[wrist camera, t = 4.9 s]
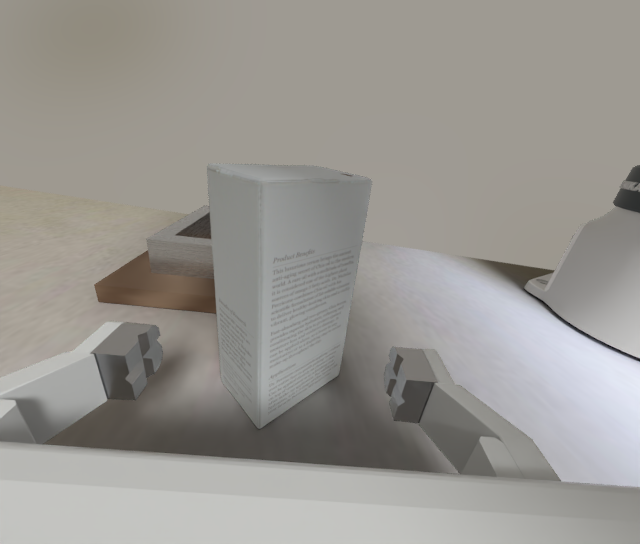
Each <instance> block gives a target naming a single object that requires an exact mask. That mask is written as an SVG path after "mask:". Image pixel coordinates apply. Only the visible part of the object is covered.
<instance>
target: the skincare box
mask: <svg viewBox="0 0 640 544" xmlns="http://www.w3.org/2000/svg"><path fill="white" fill-rule="evenodd" d="M207 176H208V194H209V208H210V223H211V239H212V253H213V266H214V282H215V298H216V313H217V327H218V343H219V357H220V373H221V380H222V382H223V384H224V385H225V386H226V388H227V389H228V390H229V391H230V393H231V394H232V395H233V397H234V398H235V399H236V400H237V402H238V403H239V404H240V405H241V407H242V408H243V410H244V411H245V412H246V414H247V415H248V416H249V418H250V419H251V420H252V422H253V423H254V424H255V426H256V427H257V428H258V429H261V428H262V427H264V426H265V425H266V424H268V423H269V422H271V421H272V420H274V419H275V418H277V417H278V416H279V415H281V414H282V413H284V412H285V411H287V410H288V409H290V408H291V407H293V406H294V405H295V404H297V403H298V402H300V401H301V400H303V399H304V398H306V397H307V396H309V395H310V394H312V393H313V392H315V391H316V390H317V389H319V388H320V387H322V386H323V385H325V384H326V383H328V382H329V381H331V380H332V379H334V378H335V377H337V376H338V375H339V372H340V366H341V361H342V355H343V349H344V344H345V338H346V332H347V326H348V320H349V314H350V308H351V302H352V297H353V291H354V285H355V279H356V273H357V267H358V262H359V256H360V250H361V244H362V238H363V232H364V227H365V222H366V216H367V209H368V204H369V198H370V192H371V185H372V180H371V179H369V178H367V177H363V176H359V175H354V174H349V173H346V172H341V171H337V170H332V169H328V168H324V167H318V166H305V165H297V166H296V165H293V166H292V165H290V166H288V165H259V164H258V165H257V164H208V166H207Z"/></svg>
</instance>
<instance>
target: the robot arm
mask: <svg viewBox="0 0 640 544" xmlns="http://www.w3.org/2000/svg"><path fill="white" fill-rule="evenodd" d="M620 188H621V189H620V191H619V192H618V194H617V196H616V198H615V200H614V202H613V203H614V205H615V206H616V207H615V208H614V209H612V210H611V211H610V212H608V213H607V214H605V215H604V216H602V217H600V218H597V219H594V220H591V221H589V222H588V223H585V224H582V225H580V227H579V228H578V230H577V231H576V233H575V234H574V235H573V237H572V239H571V241H570V244H569V246H568V247H567V249H566V251H565V253H564V255H563V256H562V258H561V260H560V262H559V264H558V266H557V268H556V269H555V271H554V273H550V274H547V275H544V276H540V277H537V278H534V279H531V280H529V281H528V282H527V284H526V285H525V287H524V288H525V290H527V291H528V292H530V293H531V294H533V295H534V296H536V297H538V298H539V299H541V300H543V301H544V302H545V303H546V304H547V305H548V306H549V307H550V308H551V309H552V310H553V311H554V312H556V313H557V314H558V315H559V316H560V317H562V318H563V319H564V320H566V321H567V322H569V323H570V324H572V325H573V326H575V327H577V328H578V329H580V330H582V331H583V332H585V333H587V334H589V335H590V336H592V337H594V338H596V339H598V340H600V341H602V342H604V343H606V344H608V345H610V346H612V347H614V348H617V349H619V350H621V351H623V352H625V353H628V354H630V355H633V356H635V357H637V358H640V165H639V166H635V167H634V168H633V169H632V170H631V172H630V173H629V175H628V177H627V179H626V180H624V181H623V182H622V184H621V186H620ZM159 336H160V332H159V327H157V326H156V325H148V324H139V323H130V322H120V321H108V322H106V323H105V324H104V325H102V326H101V327H100V328H99V329H98V330H97V331H95V332H94V333H93V334H92V335H91V336H89V337H88V338H87V339H86V340H85V341H84V342H82V343H81V344H80V345H79V346H78V347H77V348H75V349H74V350H73V351H72V352H64V353H61V354H59V355H56V356H54V357H51V358H49V359H46V360H43V361H41V362H38V363H36V364H33V365H31V366H28V367H26V368H23V369H21V370H18V371H15V372H13V373H10V374H8V375H5V376H3V377H0V544H640V487H632V486H617V485H603V484H589V483H575V482H561V480H560V479H559V477H558V476H557V474H556V473H555V472H554V470H553V469H552V467H551V466H550V464H549V463H548V461H547V460H546V459H545V457H544V456H543V454H542V453H541V451H540V450H539V449H538V447H537V446H536V444H535V443H534V441H533V440H532V439H531V438H530V437H528V436H527V435H526V434H524V433H523V432H522V431H520V430H519V429H518V428H516V427H515V426H514V425H512V424H511V423H510V422H508V421H507V420H506V419H504V418H503V417H502V416H500V415H499V414H498V413H496V412H495V411H494V410H492V409H491V408H490V407H488V406H487V405H486V404H484V403H483V402H482V401H480V400H479V399H478V398H476V397H475V396H474V395H472V394H471V393H470V392H468V391H467V390H466V389H464V388H463V387H462V386H460V385H455V383H454V381H453V380H452V378H451V376H450V374H449V372H448V371H447V369H446V367H445V365H444V363H443V361H442V360H441V358H440V356H439V354H438V352H437V351H436V350H434V349H414V348H402V347H392V348H391V350H390V354H389V357H390V361H391V362H390V363H388V364H387V365H386V369H385V375H384V383H385V389H386V393H387V394H388V395H389V396H390V397H391V398H390V402H389V405H390V409H391V413H392V417H393V420H394V421H401V422H410V423H419V426H420V427H421V428H422V429H423V430H424V432H425V433H426V434H427V435H428V436H429V437H430V439H431V440H432V441H433V442H434V443H435V445H436V446H437V447H438V448H439V449H440V451H441V452H442V453H443V454H444V455H445V456H446V458H447V459H448V460H449V461H450V462H451V464H452V465H453V466H454V467H455V468H456V469H457V471H458V472H459V473H460V474H450V473H436V472H422V471H409V470H395V469H381V468H367V467H353V466H339V465H325V464H311V463H297V462H283V461H269V460H255V459H241V458H227V457H213V456H200V455H186V454H172V453H158V452H144V451H130V450H116V449H102V448H88V447H74V446H60V445H46V444H43V443H45V442H46V441H48V440H49V439H51V438H52V437H54V436H55V435H57V434H58V433H60V432H61V431H63V430H64V429H66V428H67V427H69V426H70V425H72V424H73V423H75V422H76V421H78V420H79V419H81V418H82V417H84V416H85V415H87V414H88V413H90V412H91V411H93V410H94V409H96V408H97V407H98V406H100V405H101V404H103V403H104V402H106V401H107V399H119V400H136V399H137V398H138V396H139V395H140V393H141V392H142V391H143V389H144V388H145V386H146V385H147V379H146V378H147V377H149V376H151V375H153V374H154V373H155V372H156V371H157V369H158V368H159V366H160V363H161V360H162V355H163V350H162V345H161V344H160V343H159V342H158V341H157V339H158V338H159Z"/></svg>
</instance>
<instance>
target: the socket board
mask: <svg viewBox="0 0 640 544" xmlns="http://www.w3.org/2000/svg"><path fill="white" fill-rule="evenodd" d="M146 240H147V247H148V250H147V251H146V252H144V253H143V254H141V255H140V256H138V257H137V258H135V259H133V260H132V261H130V262H129V263H127V264H126V265H124V266H123V267H121V268H119V269H118V270H116V271H115V272H113V273H112V274H110V275H109V276H107V277H105V278H104V279H102V280H101V281H99V282H98V283H96V284H95V285H94V286H95V290H96V293H97V297H98V301H99V302H106V303H116V304H126V305H137V306H147V307H157V308H168V309H178V310H188V311H198V312H209V313H216V298H215V282H214V266H213V253H212V239H211V223H210V208H209V206H203V207H201V208H199V209H198V210H196V211H194V212H192V213H191V214H189V215H187V216H186V217H184V218H182V219H180V220H179V221H177V222H175V223H173V224H172V225H170V226H168V227H166V228H165V229H163V230H161V231H159V232H158V233H156V234H154V235H152V236H151V237H149V238H147V239H146Z"/></svg>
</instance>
